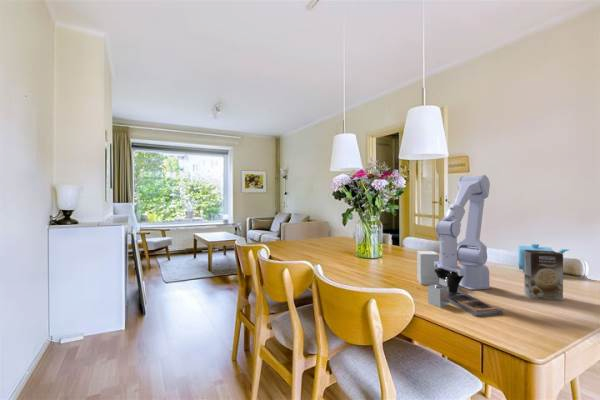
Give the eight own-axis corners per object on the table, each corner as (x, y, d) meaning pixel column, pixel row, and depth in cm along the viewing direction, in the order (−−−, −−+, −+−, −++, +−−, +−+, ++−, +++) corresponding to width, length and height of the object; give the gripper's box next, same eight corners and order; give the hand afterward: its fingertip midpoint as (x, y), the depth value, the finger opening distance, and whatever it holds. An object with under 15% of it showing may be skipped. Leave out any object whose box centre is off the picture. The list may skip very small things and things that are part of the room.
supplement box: (439, 285, 119) (439, 254, 119) (420, 284, 120) (419, 254, 120) (435, 280, 126) (434, 251, 126) (417, 279, 128) (416, 250, 128)
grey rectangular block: (450, 292, 110) (450, 275, 110) (458, 296, 105) (458, 278, 105) (439, 293, 109) (439, 276, 109) (447, 297, 105) (447, 279, 105)
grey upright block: (436, 300, 102) (436, 282, 102) (448, 305, 98) (448, 285, 98) (428, 303, 100) (427, 284, 100) (440, 307, 96) (439, 287, 96)
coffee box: (531, 299, 102) (530, 252, 101) (523, 293, 108) (523, 249, 108) (564, 301, 99) (563, 254, 98) (554, 295, 105) (554, 250, 105)
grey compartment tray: (451, 290, 112) (451, 286, 112) (502, 313, 90) (502, 309, 90) (430, 292, 111) (430, 288, 111) (476, 316, 88) (475, 311, 88)
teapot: (519, 273, 134) (519, 245, 133) (518, 266, 146) (518, 240, 146) (573, 279, 123) (572, 248, 123) (566, 271, 136) (566, 243, 136)
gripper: (426, 250, 114) (427, 285, 114) (451, 258, 99) (452, 298, 99) (443, 249, 115) (443, 284, 115) (470, 256, 100) (470, 296, 101)
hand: (448, 290), depth 107 cm, fingers closed on grey rectangular block, 4 cm apart
